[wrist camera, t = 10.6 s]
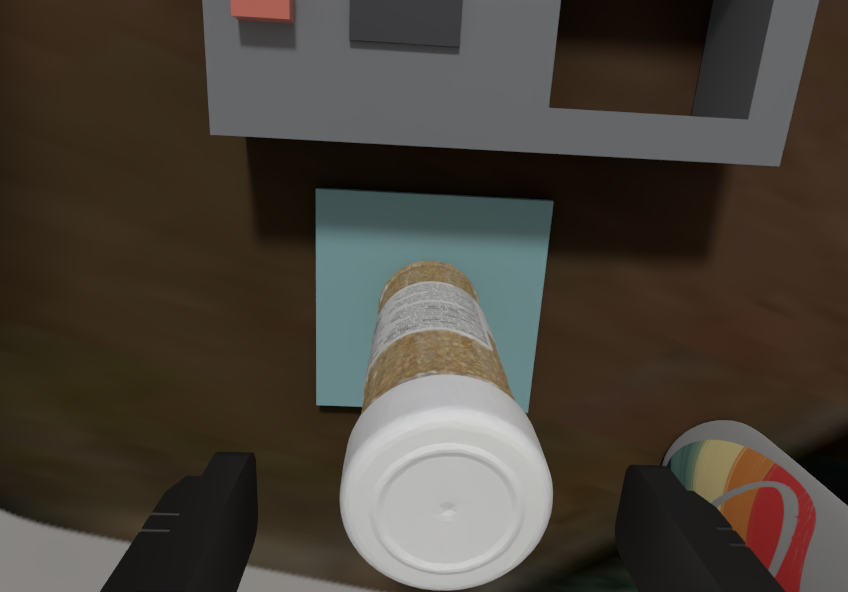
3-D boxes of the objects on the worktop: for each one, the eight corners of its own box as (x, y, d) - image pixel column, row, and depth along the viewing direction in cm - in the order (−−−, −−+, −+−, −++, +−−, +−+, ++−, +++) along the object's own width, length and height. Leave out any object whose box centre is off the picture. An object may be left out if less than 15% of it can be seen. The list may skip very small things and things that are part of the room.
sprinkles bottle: (460, 364, 25) (513, 620, 12) (364, 338, 24) (312, 575, 11) (493, 273, 23) (592, 448, 11) (393, 243, 23) (369, 388, 10)
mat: (318, 399, 26) (316, 405, 25) (318, 187, 23) (315, 188, 22) (525, 406, 26) (527, 412, 25) (550, 199, 23) (553, 201, 23)
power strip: (244, 134, 22) (202, 134, 18) (233, -156, 19) (179, -245, 15) (717, 160, 23) (793, 167, 18) (774, -114, 20) (880, -186, 16)
